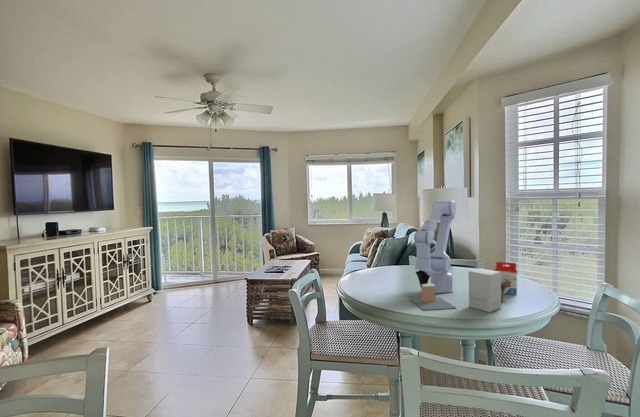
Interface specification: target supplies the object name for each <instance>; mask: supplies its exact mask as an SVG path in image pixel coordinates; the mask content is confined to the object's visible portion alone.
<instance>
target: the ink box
mask: <svg viewBox="0 0 640 417" xmlns="http://www.w3.org/2000/svg"><path fill="white" fill-rule="evenodd" d="M495 265H496V266H494V271H498V272H501V282H506V280H505V279H507V280H508V281H510V282H511V283H510V284H511V285H510V286H511V287H507V288H506V289H505V291H504V295H513V296H514V295H516V296H517V294H518V293H517V292H518V290H517V288H518V284H517V282H518V278H517V273H518V272H517V263H516V262H502V261H496V263H495Z"/></svg>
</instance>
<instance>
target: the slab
mask: <svg viewBox="0 0 640 417" xmlns="http://www.w3.org/2000/svg"><path fill="white" fill-rule="evenodd" d="M435 297H436V293H435V285H434V284H431V283H427V284H422V288H421V298H422V301H423V302H434V301H435Z"/></svg>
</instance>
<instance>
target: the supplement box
mask: <svg viewBox="0 0 640 417" xmlns="http://www.w3.org/2000/svg"><path fill="white" fill-rule="evenodd" d="M468 307H470V308H473V309H476V310H479V311H483V312H487V313H492V312H494V311H497V310H500V309H502V301H501V272H498V271H495V270H491V269H486V268H480V267H479V268H476V269H472V270H468Z"/></svg>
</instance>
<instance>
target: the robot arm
mask: <svg viewBox="0 0 640 417" xmlns="http://www.w3.org/2000/svg"><path fill="white" fill-rule="evenodd" d="M431 205H432V206H431V208H432V212H431V214H430V216H429V218H428V219H425V220H424V222H423V224H422V226H421V228H420V229H419V230H417V231H415V233H414V235H413V241H414V243H415V248H416V263H414V268H413V269H415V270H418V271H415V274H416V276H417V279H418V283H419V286H420V289H422V284H429V283H428V282H429V279H430V284H434V285H435V294H439V293H440V294H441V293H442V294H443V293H444V294H445V293H454V290H453V276H452V273H451V272H450V271H451V267H452V266H451V260H452V259H451V257H450V256H449V255H448V254H447V253H446V252H447V247H448V246H447V245H448V242H449V241H448V240H449V237H450V230H451V224H452V221H453V220H454V219H455V216H456V211H457V205H456V202H455V200H434V201H433V203H432V204H431ZM438 221H439V227H438V225H437V222H438ZM437 227H438V231H437V232H438V233H437V237H436V244H435V248H434V251H433V252H431V244H432V242H433V239H434V233H435V231H436V229H437Z"/></svg>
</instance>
